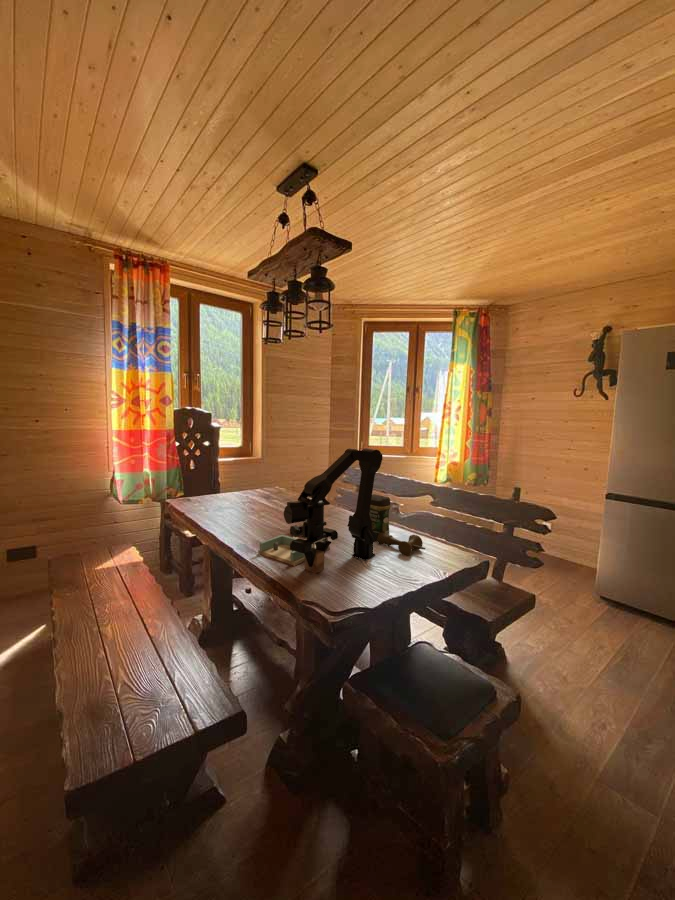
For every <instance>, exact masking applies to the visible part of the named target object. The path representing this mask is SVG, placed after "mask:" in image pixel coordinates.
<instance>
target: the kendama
mask: <svg viewBox="0 0 675 900" xmlns="http://www.w3.org/2000/svg"><path fill="white" fill-rule="evenodd" d="M376 542H377V544H378V546H382V545H386V546H388V547H391V546H397V547H398V552H399V553H400V554H401V555H402V556H404V557H409V556H411V554H412V552H413V551H412V550H415V551H418V550H424V551H425V550H427V549H426V547H424V546H423V543H424V542H423V540H422V538H421V537H420V535H417V534H411V535H410V536H409V537H408V541H406V540H405V541H404V540H399V539H397V538H395V537H394V536H393V535H391V534H389V536H387V535H385V533H383V532H382V533H380V534H379V535H378V539H377V541H376Z"/></svg>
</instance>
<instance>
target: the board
mask: <svg viewBox="0 0 675 900" xmlns="http://www.w3.org/2000/svg"><path fill="white" fill-rule="evenodd" d="M291 537H292V538H296V539H298V538H300V539H304V540H306V538H303V537H299V536H297V537H294V536H291ZM314 544H315V543H314ZM315 548H316V545H315ZM330 549H331V546H330V545H329V547H328V548H327V550H326V552H327V551H329V550H330ZM292 551H293V550H290V546H288V545H285V544H280V545H278V543H277V542H275V543H274V547H272V548H270V549H267V550H264V551H260V549H259V550H258V554H259V555H262V556H264V557H267V558H269V559H270V558H271V559H273V560H276V561H280V562H283V563H285V564H288V565H291V566H294V567H295V566H298V565H300V564H301V563H305V556H304V557H302V558H300V559H297V560H295V561H290V554H291V552H292Z"/></svg>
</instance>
